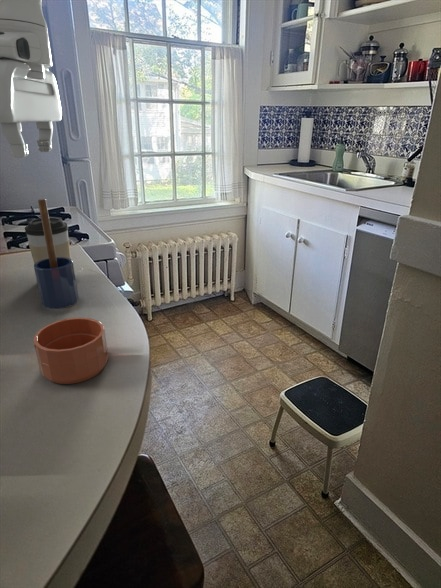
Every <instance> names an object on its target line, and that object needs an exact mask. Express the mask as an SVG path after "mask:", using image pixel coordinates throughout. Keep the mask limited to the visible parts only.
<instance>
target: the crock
mask: <svg viewBox="0 0 441 588" xmlns="http://www.w3.org/2000/svg"><path fill="white" fill-rule="evenodd" d="M56 259H57V264H58V267H57V268H50V262H49V258H47V259H43V260H40V261H38V262H36V263H35V264H34V263H33V268H34V274H35V279H36V283H37V288H38V293H39V297H40V298H39V299H40V303H41V306H42V307H44V308H46V309H52V310H53V309H55V310H56V309H64V308H67V307H70V306H73V305H75V304H76V303H78V301H79V291H78V286H77V279H76V274H75V268H74V262H73V259H72V258H71V259H70V258H65V257H56Z"/></svg>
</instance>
